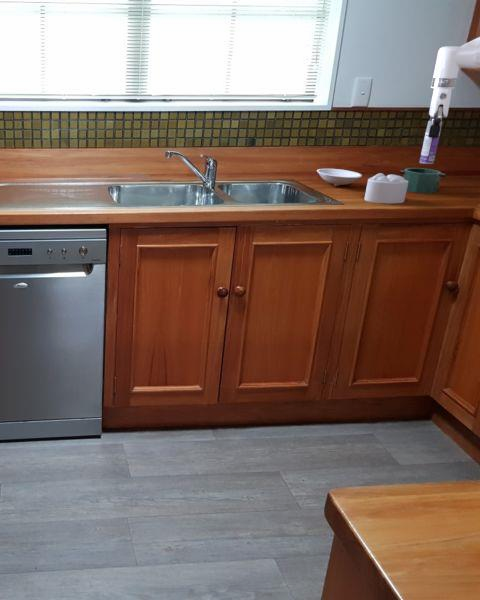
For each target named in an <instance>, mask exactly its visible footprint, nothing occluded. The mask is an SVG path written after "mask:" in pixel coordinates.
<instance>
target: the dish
mask: <svg viewBox="0 0 480 600" xmlns="http://www.w3.org/2000/svg"><path fill="white" fill-rule="evenodd" d="M316 172H317V174H318V175H319V176H320V177H321V178H322V180H324V181H325V182H327V183H329V184H333V185H334V187H339V186H340V185H342V186H344V185H350V184H353V183H354V182H356V181H357V180H358V179H359V178H362V177H363V175H362V173H359V172H356V171H352V170H347V169H340V168H318V169H317V170H316Z"/></svg>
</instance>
